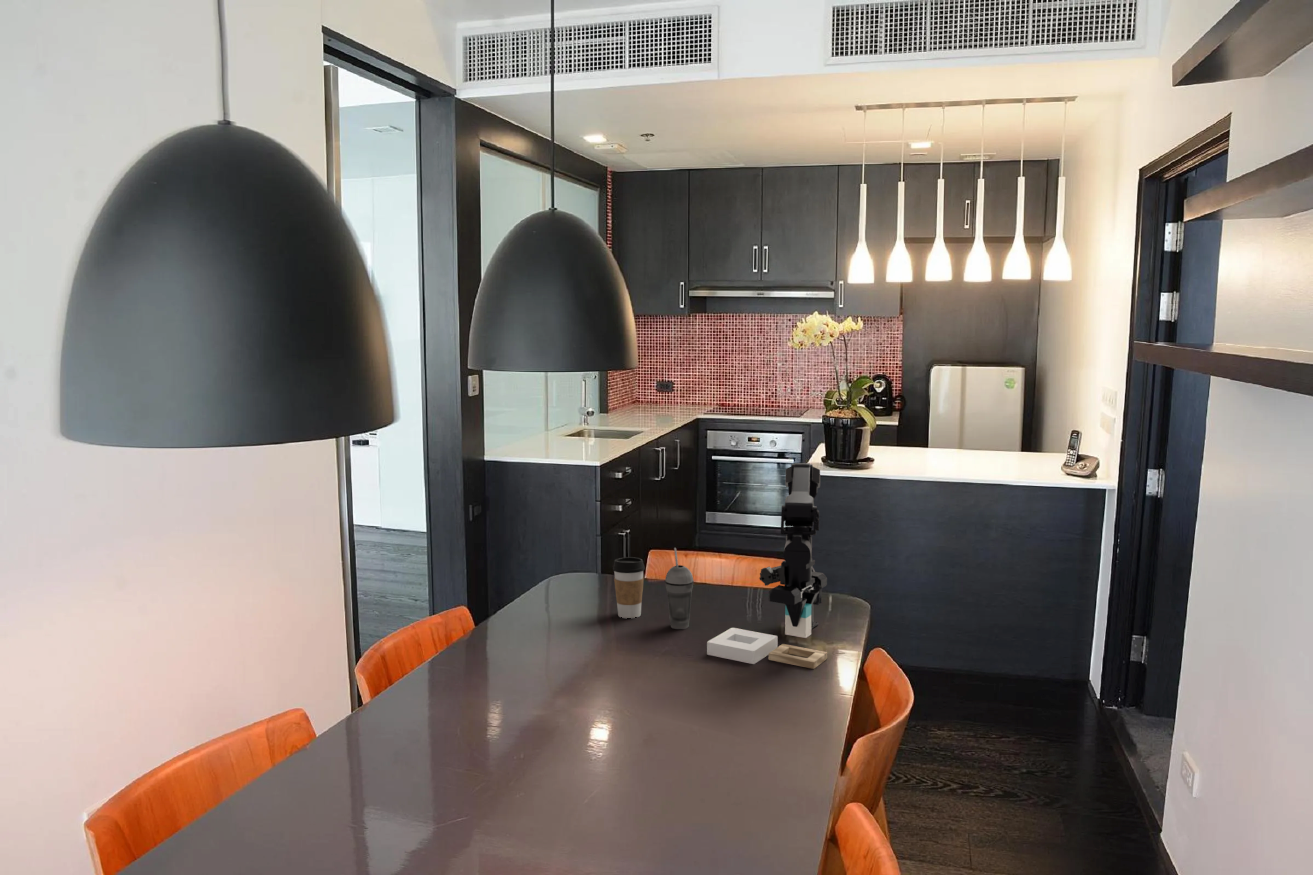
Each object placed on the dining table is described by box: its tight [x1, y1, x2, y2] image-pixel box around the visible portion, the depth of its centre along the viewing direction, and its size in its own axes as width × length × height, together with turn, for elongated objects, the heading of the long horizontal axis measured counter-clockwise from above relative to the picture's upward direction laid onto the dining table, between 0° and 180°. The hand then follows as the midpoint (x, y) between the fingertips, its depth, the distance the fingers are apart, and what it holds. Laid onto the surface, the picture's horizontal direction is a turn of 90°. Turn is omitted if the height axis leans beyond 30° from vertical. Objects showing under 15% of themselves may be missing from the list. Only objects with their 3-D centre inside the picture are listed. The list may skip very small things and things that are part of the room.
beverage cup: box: [664, 547, 695, 630], centre depth 234 cm, size 7×7×20 cm
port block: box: [706, 627, 779, 665], centre depth 217 cm, size 12×12×3 cm
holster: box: [768, 643, 828, 670], centre depth 211 cm, size 7×11×2 cm
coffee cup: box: [612, 556, 646, 619], centre depth 244 cm, size 8×8×15 cm
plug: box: [784, 603, 812, 639], centre depth 210 cm, size 3×5×7 cm, turn 57°
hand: (798, 624), depth 210 cm, fingers closed on plug, 3 cm apart
